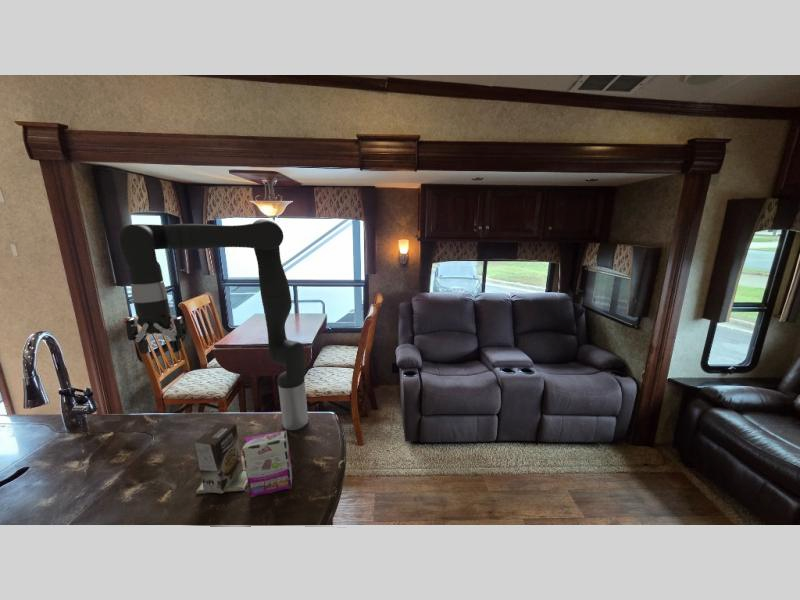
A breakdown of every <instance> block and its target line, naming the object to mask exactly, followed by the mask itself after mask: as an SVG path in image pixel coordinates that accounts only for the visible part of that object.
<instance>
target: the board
mask: <svg viewBox="0 0 800 600" xmlns="http://www.w3.org/2000/svg"><path fill="white" fill-rule="evenodd" d="M241 460H242V466H243V470H242V471H241V472H240V474H239V475H238V476H237V477H236V478H235V480H234V481H233V482H232V483H231V484H230V485H229V487H228V488H227V489H226V490H225V491H224V493H226V492H227V493H228V492H238V491H239V492H241V491H245V489H246V487H247V486H248V479H247V474H246V468H245V462H244V456H243V455H241ZM195 492H196V494H198V495H199V494H211V493H213V494H214V493H215V492H209V491H204V489H203V484H202V482H201V484H200V485H199V487H198V488H197V490H196V491H195Z"/></svg>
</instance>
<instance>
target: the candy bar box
mask: <svg viewBox="0 0 800 600" xmlns="http://www.w3.org/2000/svg"><path fill="white" fill-rule="evenodd" d="M287 431H288V430H287V429H284V430H279V431H274V432H269V433H264V434H259V435H258V434H257V435H254V436H248V437H245V439H244V442H243V446H242V456H244V462H245V468H246V474H247V479H248V483H247V486H248V490H249V496H250V498H255V497H259V496H265V495H268V494H273V493H277V492H280V491H284V490H290V489H292V481H293V472H292V463H291V455H290V448H289V447H290V446H289V439H288V432H287Z"/></svg>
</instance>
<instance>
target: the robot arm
mask: <svg viewBox="0 0 800 600" xmlns="http://www.w3.org/2000/svg"><path fill="white" fill-rule="evenodd" d="M283 241H284V232H283V230H282V228H281V227H280V225H279V224H278V223H276V222H274V221H272V220H270V219H265V218H260V219H257V220H255V221H254V222H253V223H248V224H241V225H240V224H239V225H218V224H206V223H205V224H204V223H176V224H175V223H174V224H146V223H144V224H139V223H137V224H136V223H135V224H134V223H133V224H128V225H125V226H124V227H122V228H121V230H120V231H119V233H118V243H119V247H120V250H121V252H122V253H121V254H122V255H123V258H124V260H125V263H126V265H127V271H128V275H129V280H130V286H131V288H130V289H131V291H130V292H131V296H132V301H133V306H134V309H135V310H134V311H135V315H136V317H137V318H136V317H132V318H129V319H126V321H125V326H126V332H127V333H126V334H127V339H128V341H134V342H136V343H137V346H138V351H139V352H140V353H141V355H146V354H148V353H149V352H150V347H149V343H148V339H147V337H148V336H149V335H152V334H158V335H159V334H163V335H164V336H165V337H168V338H169V339H170V340H171V347H172V353H174V354H177V353H179V352H180V351H181V350H182V341H181V340H182V339H183V338H184V337H186V336H187V334H188V333H187V332H188V331H187V329H186V325H185V321H184V317H183V316H181V315H179V316H178V317H171V310H170V309H171V308H170V303H169V298H168V293H167V287H166V286H165V281H164V277H163V272H162V267H161V265H160V262H158V259H157V254H156V253H157V252H156V250H167V249H169V250H170V249H172V250H179V251H180V250H200V249H201V250H203V249H204V250H205V249H218V248H246V249H247V248H249V249H253V251H254V254H255V257H256V263H257V268H258V269H257V270H258V272H257V273H258V282H259V283H258V284H259V289H260V297H261V303H262V307H263V312H264V318H265V323H266V332H267V342H268V345H267V346H268V353H269V358H270V360H271V362H272V363H273V364H275V365H278V366H283V367H285V369H286V370H285V371H283V372H282V373H280V374H279V375H278V377H277V387H278V394H279V396H278V397H279V403H280V413H281V420H282V421H281V422H282V427H283V428H284V430H286V431H298V430H300V429H302V428H304V427H306V425H307V424H308V422H309V415H308V404H307V402H308V401H307V392H306V391H307V390H306V383H305V375H306V370H307V369H306V351H305V347H304V345H303V344H302V343H301V342H299V341H295V340H290V339H289V340H288V338H287V334H286V322H287V320H288V317H289V315H290V313H291V310H292V305H293V303H292V295H291V290H290V285H289V282H288V279H287V278H288V277H287V276H286V272H285V269H284V267H283V263H282V259H281V252H280V245H281V244H282V243H283ZM138 325H139V326H140V327H141V329H140V330H139V328H138Z"/></svg>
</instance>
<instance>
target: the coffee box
mask: <svg viewBox="0 0 800 600" xmlns="http://www.w3.org/2000/svg"><path fill="white" fill-rule="evenodd" d="M238 434H239V433H238V429H237V424H236V423H224V422H216V423H215V424H214V425H213V426H212V427H211V428H210V429H209V430H207V431H206V432H205V433H204V434H203V435H201V436H200V437H199V438H198V439H197V440H196V441H195V442H194V444H195V450H196V456H197V460H198V461H197V462H198V467H199V472H200V477H201V483H202V484H203V489H204V491H209V492H214V493H217V494H223V493H225V492H224V491H225V490H226V489H227V488H228V487H229V485H230V484H231V483H232V482H233V481H234V480H235V478H236V477H237V476H238V475H239V474H240V472H241V471H242V470H243V466H242V460H241V456H242V454H241V448H240V443H239V442H240V441H239V435H238Z"/></svg>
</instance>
